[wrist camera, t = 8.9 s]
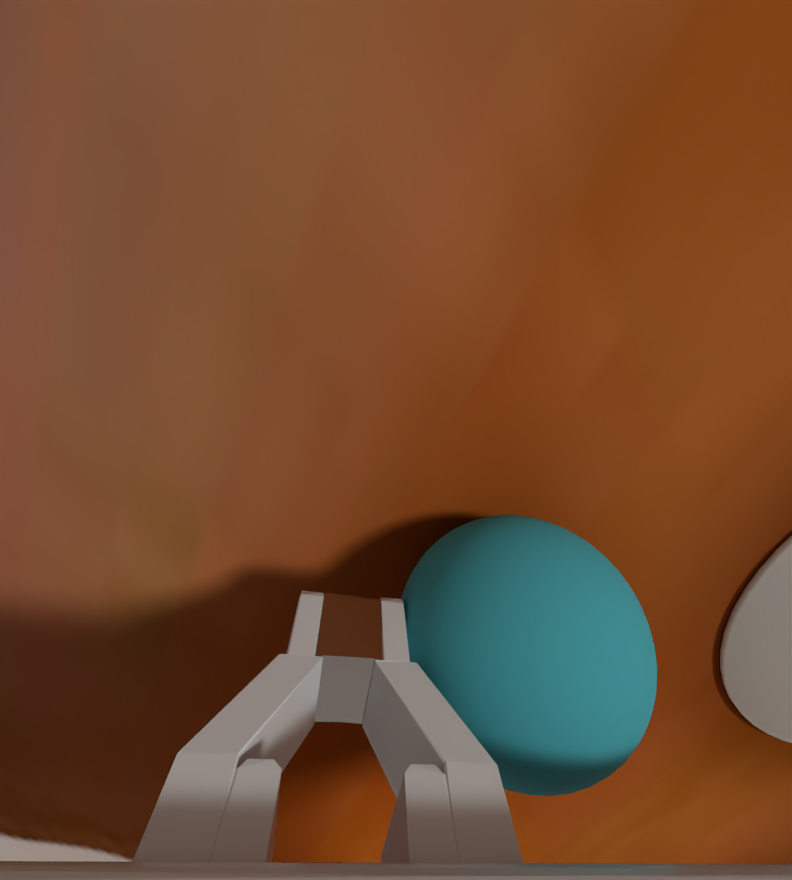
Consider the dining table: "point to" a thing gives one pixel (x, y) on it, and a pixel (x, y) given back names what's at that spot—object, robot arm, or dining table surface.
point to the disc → (762, 647)
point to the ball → (534, 650)
